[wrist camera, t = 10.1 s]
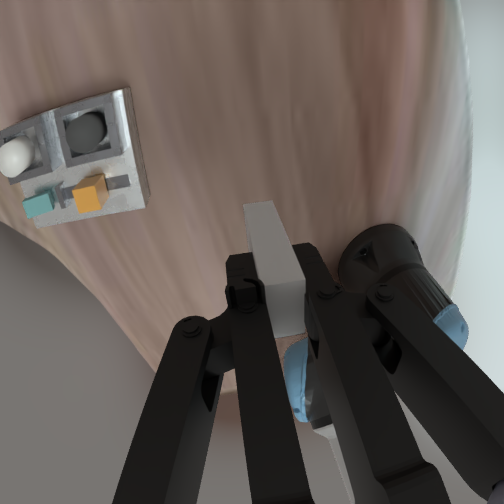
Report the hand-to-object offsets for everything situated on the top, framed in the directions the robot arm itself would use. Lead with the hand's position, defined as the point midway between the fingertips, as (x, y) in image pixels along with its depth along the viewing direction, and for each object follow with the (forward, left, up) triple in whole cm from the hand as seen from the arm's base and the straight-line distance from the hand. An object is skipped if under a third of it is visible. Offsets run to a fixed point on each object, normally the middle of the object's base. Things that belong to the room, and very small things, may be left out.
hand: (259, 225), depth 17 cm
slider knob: (-4, +17, -21) cm, 27 cm away
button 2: (+4, +16, -20) cm, 26 cm away
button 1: (+4, +25, -18) cm, 31 cm away
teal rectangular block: (-4, +26, -20) cm, 33 cm away
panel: (0, +20, -26) cm, 32 cm away
